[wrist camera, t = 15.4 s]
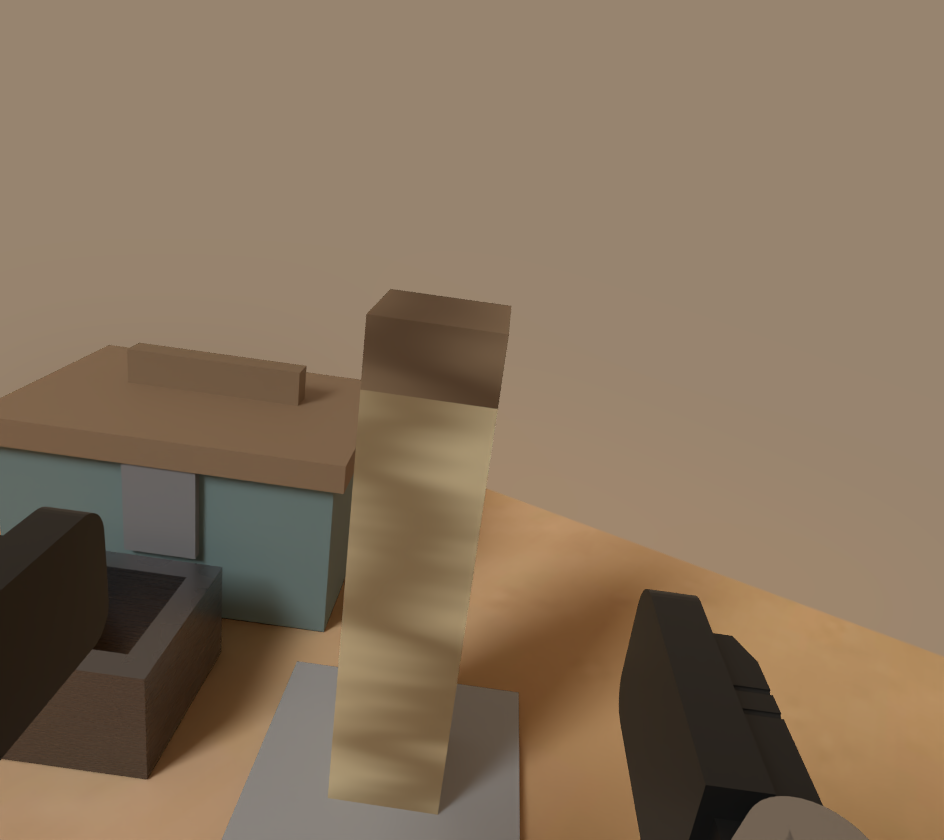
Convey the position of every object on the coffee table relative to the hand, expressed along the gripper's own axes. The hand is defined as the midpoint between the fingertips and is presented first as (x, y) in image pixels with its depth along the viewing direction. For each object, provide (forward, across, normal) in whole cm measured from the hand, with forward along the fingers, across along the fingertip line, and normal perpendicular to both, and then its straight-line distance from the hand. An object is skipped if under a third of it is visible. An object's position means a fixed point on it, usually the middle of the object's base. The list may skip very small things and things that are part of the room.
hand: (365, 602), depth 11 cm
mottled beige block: (+11, 0, +14) cm, 18 cm away
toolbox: (+23, +11, +14) cm, 29 cm away
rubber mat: (+11, 0, +14) cm, 18 cm away
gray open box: (+12, +11, +14) cm, 22 cm away
